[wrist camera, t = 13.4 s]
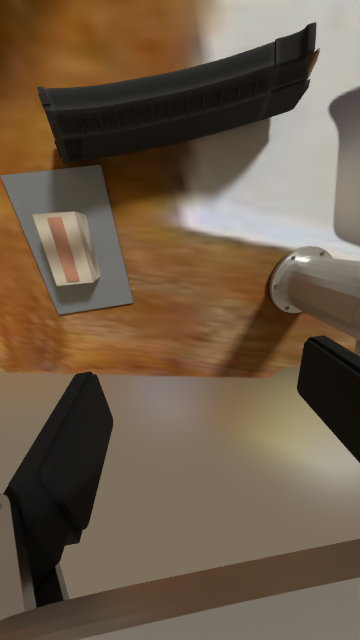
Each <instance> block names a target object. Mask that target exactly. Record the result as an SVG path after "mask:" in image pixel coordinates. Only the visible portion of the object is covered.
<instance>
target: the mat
mask: <svg viewBox="0 0 360 640" xmlns="http://www.w3.org/2000/svg"><path fill="white" fill-rule="evenodd" d="M1 178H2V181H3V183H4V186H5V188H6V190H7V193H8V195H9V198H10V200H11V202H12V205H13V207H14V210H15V212H16V214H17V217H18V219H19V221H20V224H21V226H22V229H23V231H24V233H25V236H26V238H27V241H28V243H29V245H30V248H31V250H32V253H33V255H34V257H35V260H36V262H37V264H38V267H39V269H40V272H41V274H42V276H43V279H44V281H45V284H46V286H47V288H48V291H49V293H50V296H51V298H52V300H53V303H54V305H55V308H56V310H57V312H58V315H60V314H66V313H72V312H79V311H85V310H91V309H98V308H104V307H110V306H117V305H123V304H130V303H133V298H132V294H131V290H130V285H129V281H128V277H127V273H126V268H125V264H124V260H123V256H122V251H121V247H120V243H119V239H118V234H117V230H116V226H115V222H114V217H113V213H112V209H111V205H110V201H109V196H108V192H107V188H106V184H105V179H104V175H103V171H102V167H101V165H92V166H83V167H74V168H65V169H56V170H47V171H38V172H29V173H19V174H10V175H1ZM73 211H75V212H78V213H81V214H84V215H86V218H87V222H88V226H89V230H90V235H91V239H92V243H93V247H94V251H95V255H96V259H97V263H98V268H99V272H100V276H101V277H99V278H98V279H97V280H95V281H94V282H92V283H82V284H72V285H62V286H57V285H56V282H55V279H54V276H53V273H52V271H51V268H50V265H49V262H48V259H47V256H46V253H45V250H44V247H43V244H42V241H41V238H40V236H39V233H38V230H37V227H36V224H35V221H34V218H33V215H32V214H44V213H59V212H73Z"/></svg>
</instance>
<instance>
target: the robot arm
mask: <svg viewBox="0 0 360 640" xmlns="http://www.w3.org/2000/svg"><path fill="white" fill-rule="evenodd" d="M269 293H270V297H271V300H272V301H273V303H274V304H275V305H276V306H277V307H278V308H279V309H281V310H283V311H285V312H288V313H300V312H305V313H307V314H309V315H311V316H313V317H315V318H316V319H318V320H320V321H322V322H324V323H326V324H328V325H330V326H332V327H334V328H336V329H338V330H340V331H342V332H344V333H346V334H348V335H350V336H352V337H354V338H356V339H358V340H360V262H356V261H348V260H340V259H333V258H332V257H331V255H330V254H329V253H328V252H327V251H326V250H324V249H322V248H319V247H312V246H307V247H301V248H299V249H296V250H294V251H292V252H290V253H289V254H288V255H286V256H285V257H284V258H283V259H282V260H281V261H280V262H279V263H278V265H277V266H276V268H275V269H274V272H273V274H272V276H271V279H270V285H269ZM297 390H298V393H299V394H300V396H301V397H302V398H303V399H304V400H305V401H306V402H307V404H308V405H309V406H310V407H311V408H312V409H313V410H314V411H315V413H316V414H317V415H318V416H319V417H320V418H321V419H322V421H323V422H324V423H325V424H326V425H327V426H328V427H329V429H330V430H331V431H332V432H333V433H334V434H335V435H336V436H337V438H338V439H339V440H340V441H341V442H342V443H343V444H344V446H345V447H346V448H347V449H348V450H349V451H350V452H351V453H352V455H353V456H354V457H355V458H356V459H357V460H358V461H359V462H360V357H359V356H358V355H356V354H354V353H353V352H351V351H349V350H348V349H346V348H344V347H343V346H341V345H340V344H338V343H336V342H335V341H333V340H331V339H330V338H328V337H326V336H316V337H310V338H308V340H307V341H306V342H305V344H304V348H303V354H302V360H301V366H300V372H299V378H298V385H297ZM112 428H113V417H112V414H111V412H110V409H109V406H108V404H107V401H106V398H105V396H104V393H103V390H102V388H101V385H100V382H99V380H98V377H97V375H95V374H94V375H93V373H92V372H85V373H79V374H76V375H75V376H74V378H73V379H72V381H71V382H70V384H69V386H68V387H67V389H66V391H65V392H64V394H63V396H62V397H61V399H60V400H59V402H58V404H57V405H56V407H55V409H54V410H53V412H52V414H51V415H50V417H49V419H48V420H47V422H46V423H45V425H44V427H43V428H42V430H41V432H40V433H39V435H38V437H37V438H36V440H35V441H34V443H33V445H32V446H31V448H30V450H29V451H28V453H27V455H26V456H25V458H24V459H23V461H22V463H21V465H20V466H19V468H18V469H17V471H16V473H15V474H14V476H13V478H12V479H11V481H10V483H9V485H8V487H7V488H6V490H5V492H4V493H3V494H2V493H0V640H360V539H357V540H352V541H346V542H341V543H336V544H331V545H326V546H321V547H317V548H311V549H307V550H301V551H297V552H292V553H287V554H282V555H277V556H272V557H268V558H262V559H257V560H252V561H247V562H242V563H237V564H232V565H227V566H223V567H217V568H213V569H208V570H203V571H198V572H193V573H189V574H184V575H179V576H175V577H170V578H165V579H160V580H155V581H150V582H145V583H140V584H135V585H131V586H126V587H122V588H117V589H112V590H108V591H104V592H100V593H96V594H91V595H87V596H82V597H78V598H74V599H69V596H68V592H67V589H66V585H65V581H64V577H63V574H62V570H61V567H60V563H59V562H60V559H61V556H62V553H63V550H64V546H65V545H71V544H76V543H79V541H80V538H81V534H82V530H84V529H86V528H87V525H88V524H89V520H90V516H91V513H92V508H93V504H94V500H95V496H96V492H97V488H98V484H99V480H100V476H101V472H102V468H103V464H104V460H105V456H106V452H107V448H108V444H109V440H110V436H111V432H112Z"/></svg>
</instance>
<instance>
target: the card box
mask: <svg viewBox="0 0 360 640" xmlns="http://www.w3.org/2000/svg"><path fill="white" fill-rule="evenodd" d="M32 215H33V218H34V221H35V224H36V227H37V230H38V233H39V236H40V238H41V241H42V244H43V247H44V250H45V253H46V256H47V259H48V262H49V265H50V268H51V271H52V273H53V276H54V279H55V282H56V285H57V286H62V285H72V284H82V283H92V282H94V281H95V280H97V279H98V278H99V277H101V276H100V272H99V268H98V263H97V259H96V255H95V251H94V247H93V243H92V239H91V235H90V230H89V226H88V222H87V218H86V215H84V214H81V213H78V212H75V211H73V212H59V213H44V214H32Z"/></svg>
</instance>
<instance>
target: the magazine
mask: <svg viewBox="0 0 360 640" xmlns="http://www.w3.org/2000/svg"><path fill="white" fill-rule="evenodd" d="M315 40H316V22H314V23H311V24H308V25H307V26H306V27H305V29H303V30H301V31H300V32H298V33H295V34H292V35H289V36H286V37H282V38H278V39H276V40H275V42H272V43H269V44H266V45H264V46H261V47H257V48H255V49H252V50H249V51H246V52H243V53H240V54H237V55H234V56H231V57H227V58H224V59H221V60H217V61H214V62H210V63H206V64H202V65H199V66H195V67H191V68H187V69H183V70H179V71H175V72H170V73H165V74H161V75H155V76H149V77H144V78H138V79H132V80H127V81H121V82H116V83H111V84H104V85H96V86H87V87H75V88H50V89H44V87H37V88H38V91H39V93H38V94H39V97H40V100H41V102H42V105H43V108H44V109H45V112H46V115H47V118H48V121H49V124H50V127H51V130H52V133H53V135H54V138H55V144H56V147H57V149H58V152H59V155H60V157H62V159H63V162H64V164H68V163H69V162H75V161H82V160H88V159H94V158H100V157H106V156H112V155H119V154H124V153H130V152H136V151H141V150H146V149H151V148H156V147H161V146H166V145H170V144H175V143H179V142H183V141H188V140H192V139H196V138H200V137H203V136H207V135H211V134H215V133H218V132H221V131H225V130H228V129H232V128H235V127H239V126H242V125H246V124H249V123H252V122H256V121H259V120H263V119H267V118H270V117H273V116H276V115H279V114H282V113H285V112H288V111H290V110H292V109H294V107H295V106H296V105H297V103H298V102H299V100H300V99H301V97H302V96H303V94H304V93H305V92H306V90H307V89H308V87H309V83H310V79H309V80H307V79H308V78H309V76H310V74H311V71H312V69H313V67H314V65H315V63H316V61H317V58H318V55H319V52H320V48H318V49H317V50H316V51H315V52H314V50H315Z"/></svg>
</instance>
